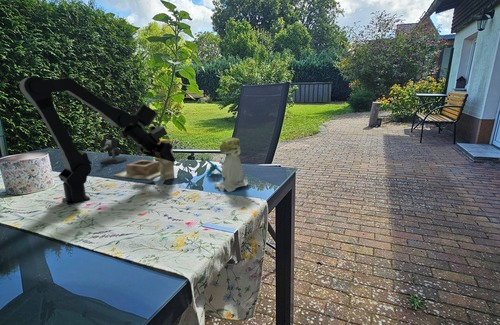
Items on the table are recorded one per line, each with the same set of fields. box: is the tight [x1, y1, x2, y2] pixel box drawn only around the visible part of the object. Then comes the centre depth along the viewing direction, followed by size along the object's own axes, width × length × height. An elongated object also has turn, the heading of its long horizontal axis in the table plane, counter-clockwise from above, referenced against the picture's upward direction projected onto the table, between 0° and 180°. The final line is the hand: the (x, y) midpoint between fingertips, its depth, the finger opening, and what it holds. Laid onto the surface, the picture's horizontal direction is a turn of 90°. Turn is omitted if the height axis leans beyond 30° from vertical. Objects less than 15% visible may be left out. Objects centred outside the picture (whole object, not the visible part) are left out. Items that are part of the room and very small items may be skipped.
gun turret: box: [99, 136, 128, 165], centre depth 142 cm, size 13×20×13 cm, turn 14°
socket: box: [113, 159, 161, 181], centre depth 123 cm, size 18×16×5 cm
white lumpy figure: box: [213, 137, 250, 193], centre depth 103 cm, size 12×13×18 cm
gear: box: [205, 158, 222, 177], centre depth 119 cm, size 11×6×10 cm
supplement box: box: [154, 138, 171, 161], centre depth 146 cm, size 6×6×11 cm
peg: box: [159, 143, 175, 180], centre depth 115 cm, size 4×4×14 cm
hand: (168, 159), depth 116 cm, fingers open, 9 cm apart
